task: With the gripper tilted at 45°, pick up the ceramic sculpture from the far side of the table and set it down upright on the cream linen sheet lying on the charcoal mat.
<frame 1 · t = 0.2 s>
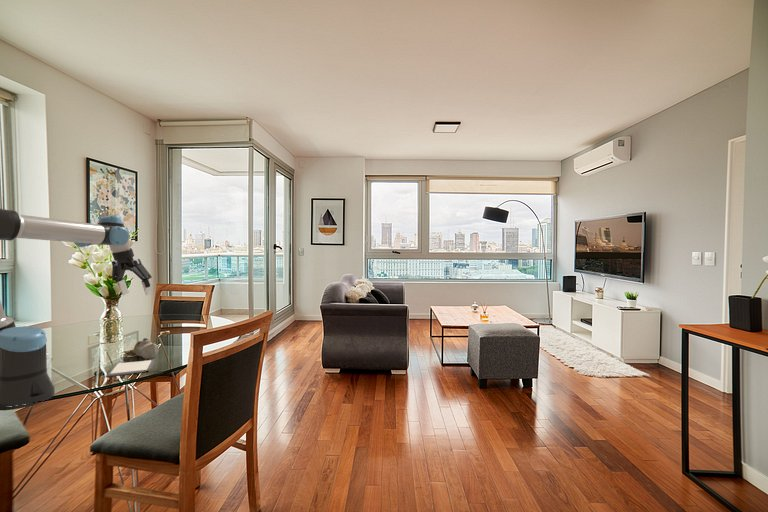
hand: (137, 293, 169), 27 cm above the table, fingers open, 13 cm apart
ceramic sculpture: (144, 357, 166), on the table
linen sheet mat: (131, 368, 151), on the table
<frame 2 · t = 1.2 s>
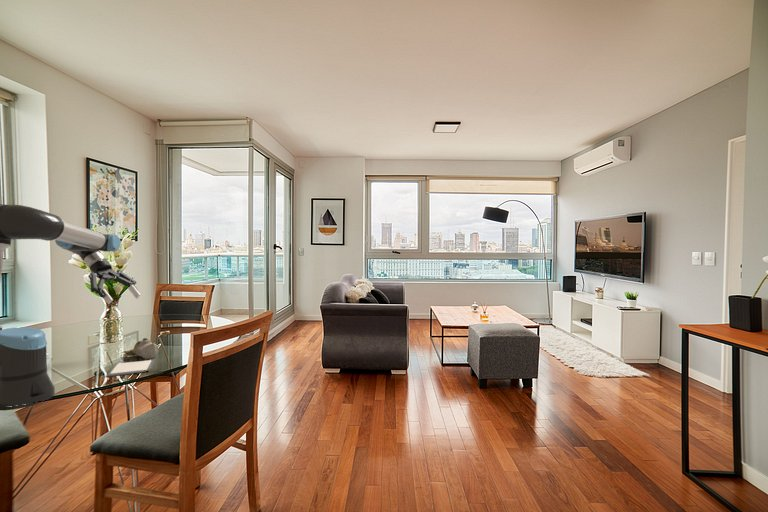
hand: (125, 299, 167), 25 cm above the table, fingers open, 13 cm apart
nothing on the table moved.
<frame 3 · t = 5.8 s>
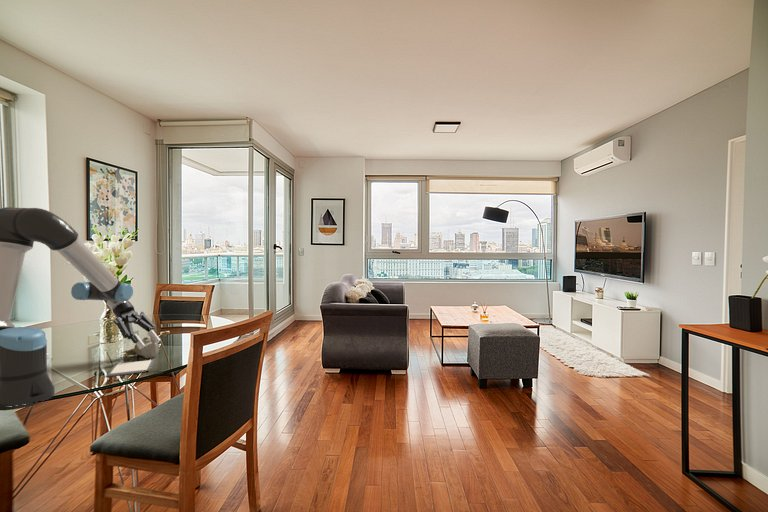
hand: (150, 344, 164), 6 cm above the table, fingers closed on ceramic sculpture, 7 cm apart
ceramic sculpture: (145, 356, 166), on the table, touching gripper
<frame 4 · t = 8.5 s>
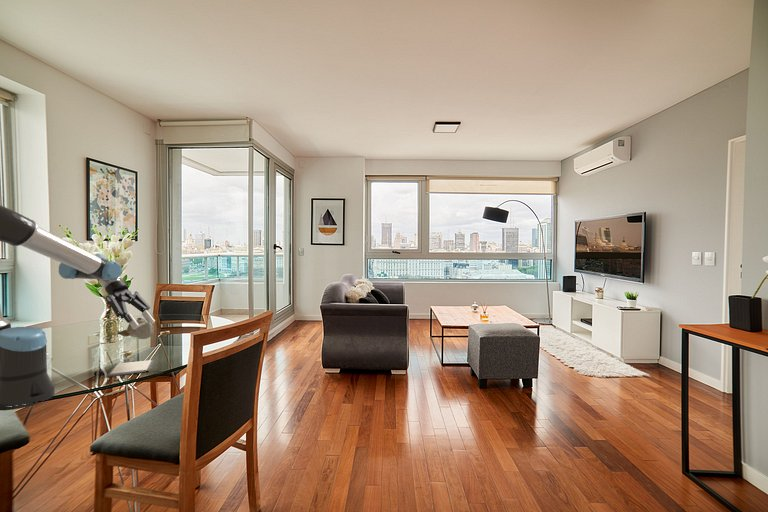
hand: (144, 325, 156), 17 cm above the table, fingers closed on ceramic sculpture, 7 cm apart
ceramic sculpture: (138, 337, 158), point 11 cm above the table, touching gripper
when the fingers open (8 cm above the table, at t = 11.5 s): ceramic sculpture drops 1 cm, resting on linen sheet mat.
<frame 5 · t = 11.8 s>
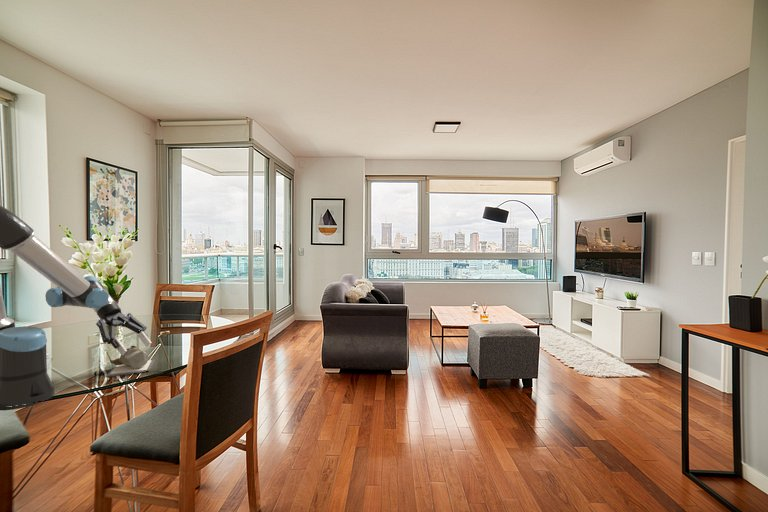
hand: (137, 348, 150), 8 cm above the table, fingers open, 10 cm apart
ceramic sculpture: (132, 366, 152), point 1 cm above the table, touching linen sheet mat
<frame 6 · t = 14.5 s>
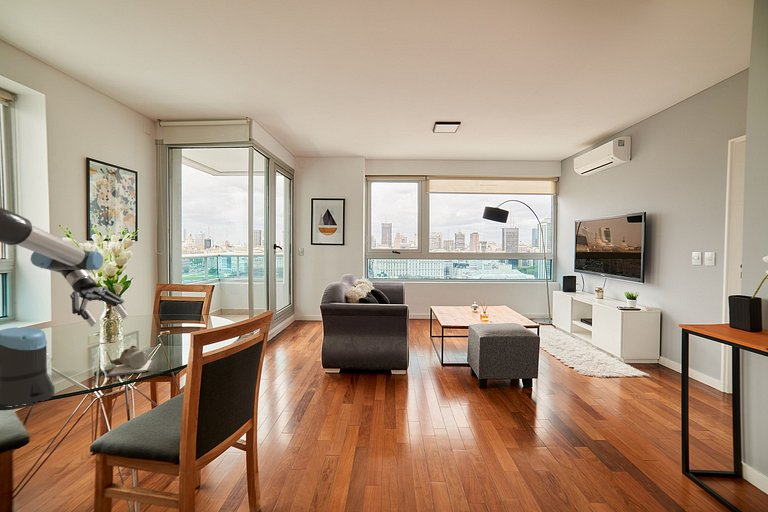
hand: (110, 320, 153), 19 cm above the table, fingers open, 13 cm apart
nothing on the table moved.
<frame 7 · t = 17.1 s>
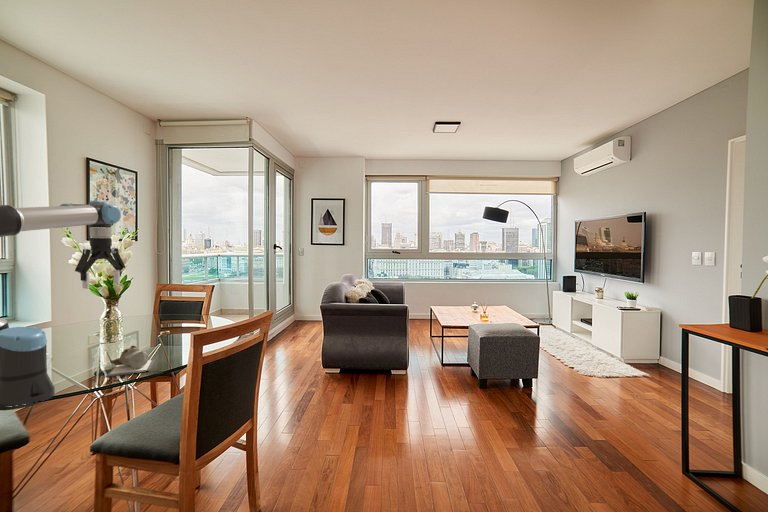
hand: (101, 286, 161), 32 cm above the table, fingers open, 13 cm apart
nothing on the table moved.
at the end: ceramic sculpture inside the target area on the linen sheet mat (0.8 cm from its centre), point 0.6 cm above the linen sheet mat's base; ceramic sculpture tilted 0°; the gripper is holding nothing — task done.
